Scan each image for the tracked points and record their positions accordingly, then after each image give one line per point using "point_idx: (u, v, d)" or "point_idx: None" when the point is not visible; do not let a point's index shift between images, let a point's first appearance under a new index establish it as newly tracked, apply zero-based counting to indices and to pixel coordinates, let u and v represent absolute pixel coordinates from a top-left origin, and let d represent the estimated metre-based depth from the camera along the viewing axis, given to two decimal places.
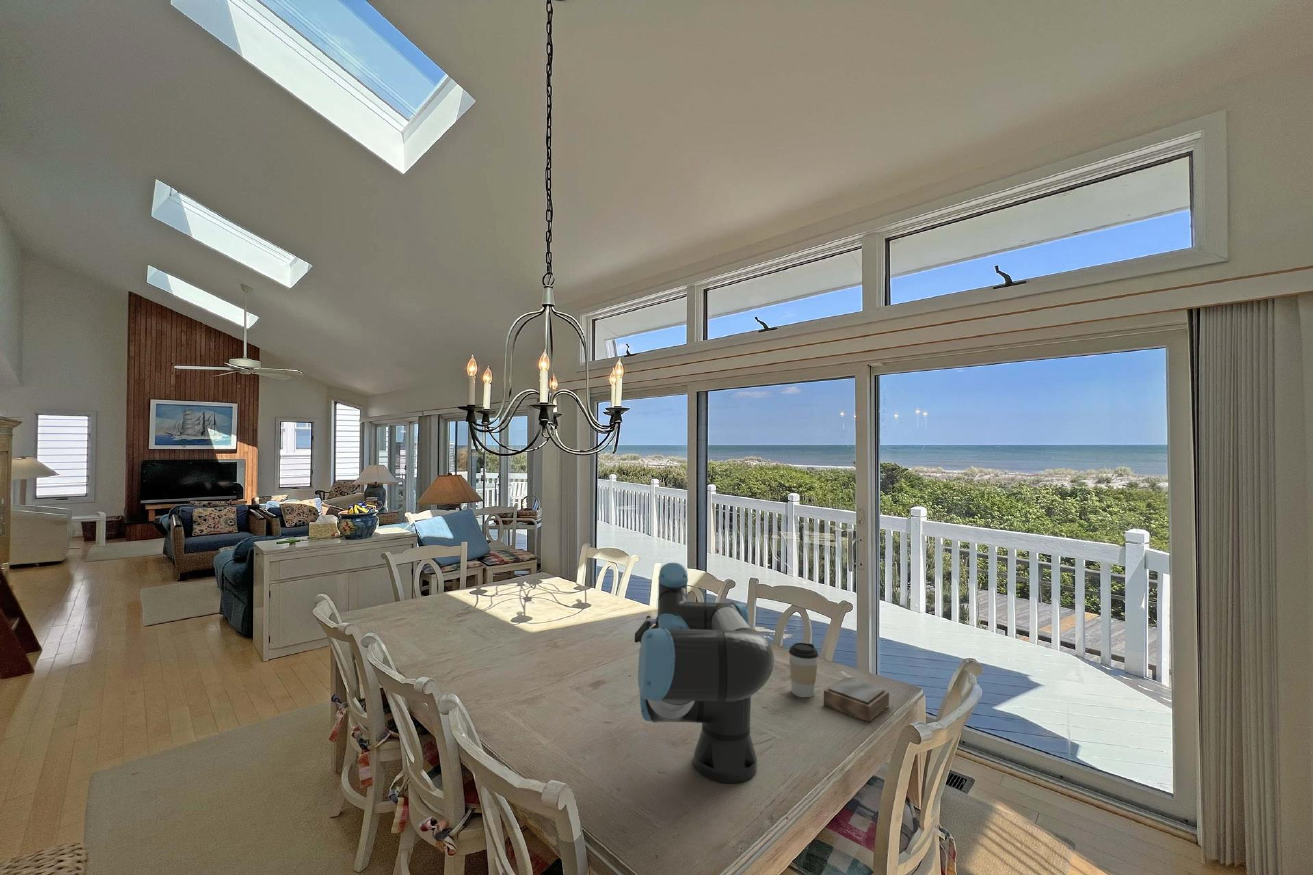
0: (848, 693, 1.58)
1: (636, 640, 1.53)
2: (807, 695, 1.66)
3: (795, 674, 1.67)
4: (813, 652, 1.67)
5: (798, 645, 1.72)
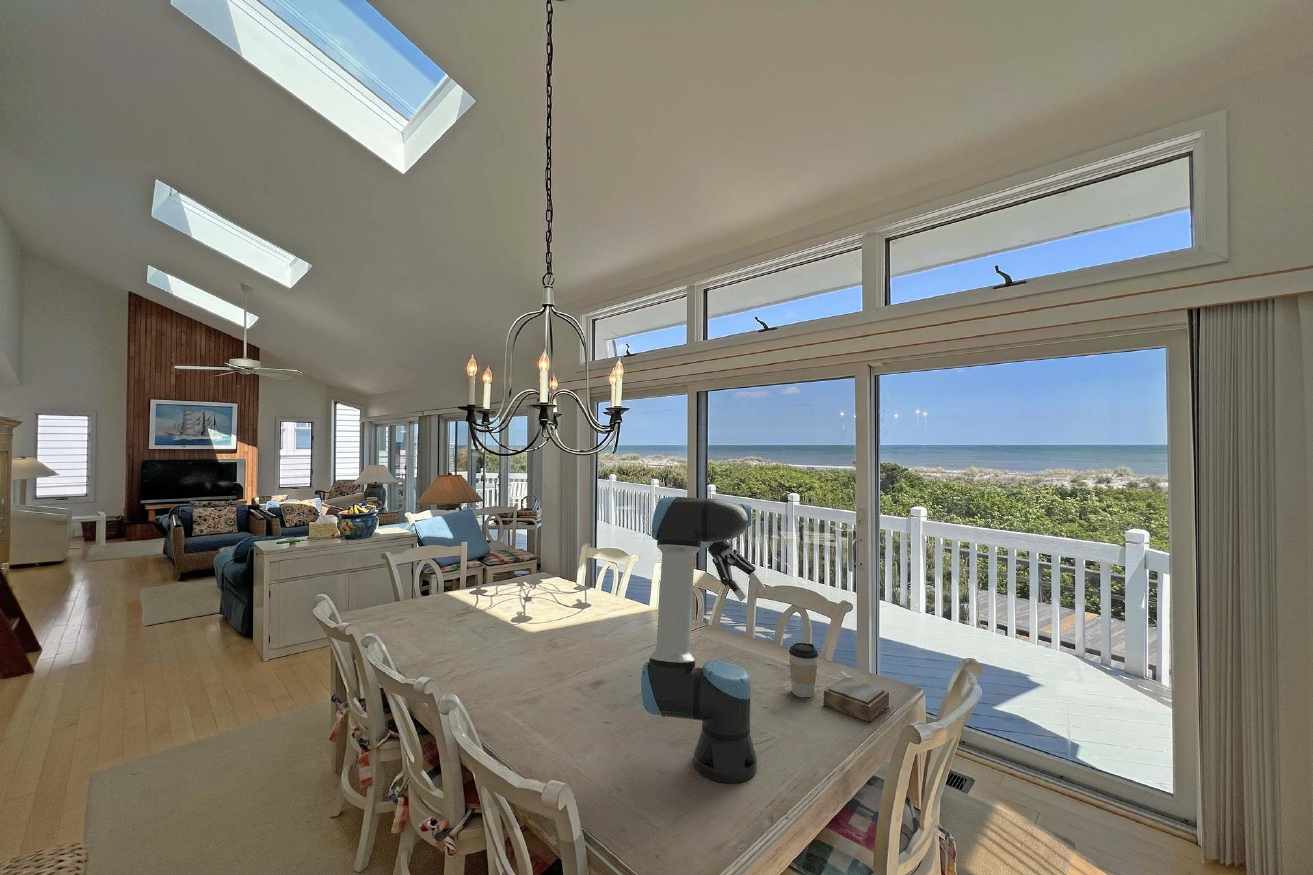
0: (848, 693, 1.58)
1: (726, 577, 1.73)
2: (807, 695, 1.66)
3: (795, 674, 1.67)
4: (813, 652, 1.67)
5: (798, 645, 1.72)
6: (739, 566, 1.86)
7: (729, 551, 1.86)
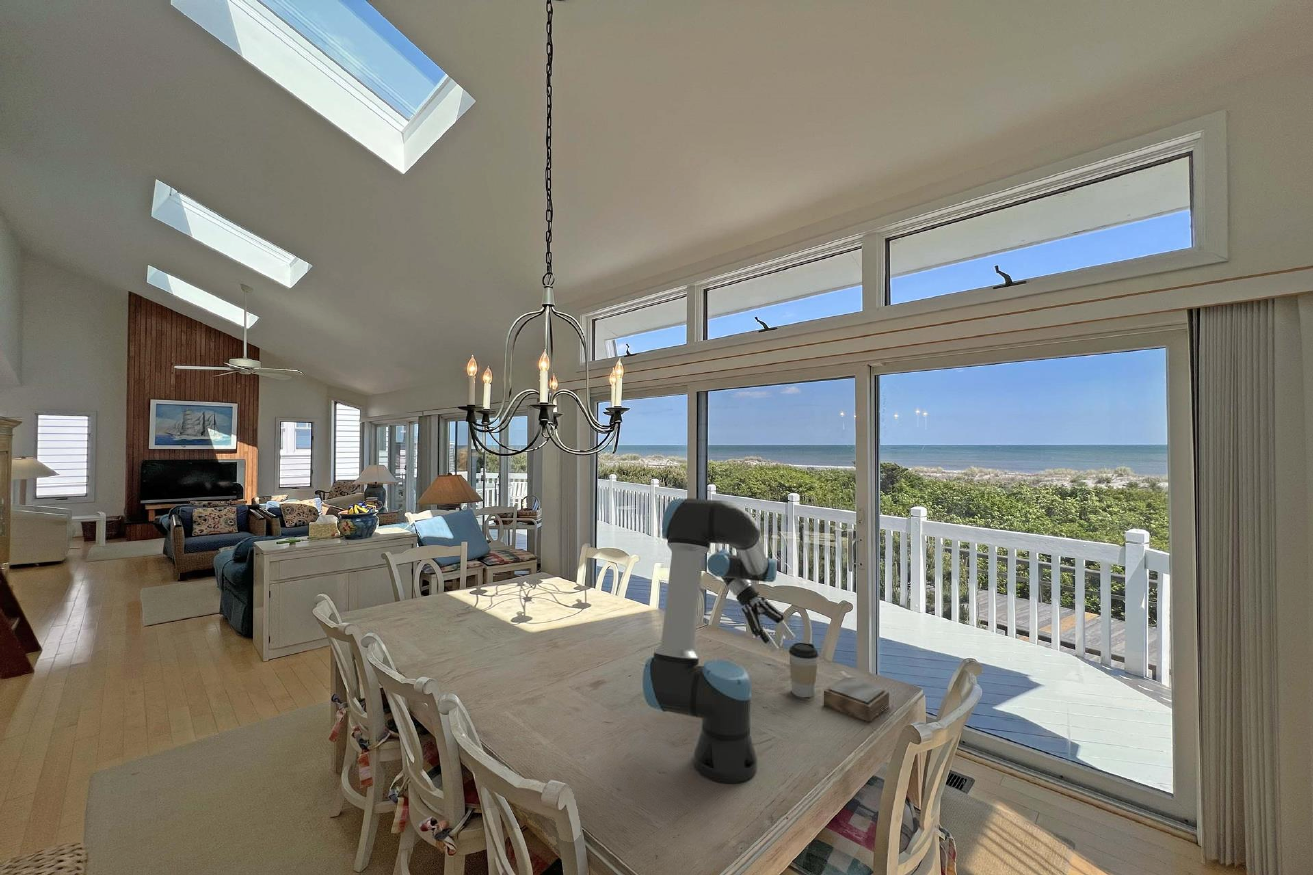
0: (848, 693, 1.58)
1: (757, 628, 1.70)
2: (807, 695, 1.66)
3: (795, 674, 1.67)
4: (813, 652, 1.67)
5: (798, 645, 1.72)
6: (768, 614, 1.83)
7: (758, 599, 1.83)
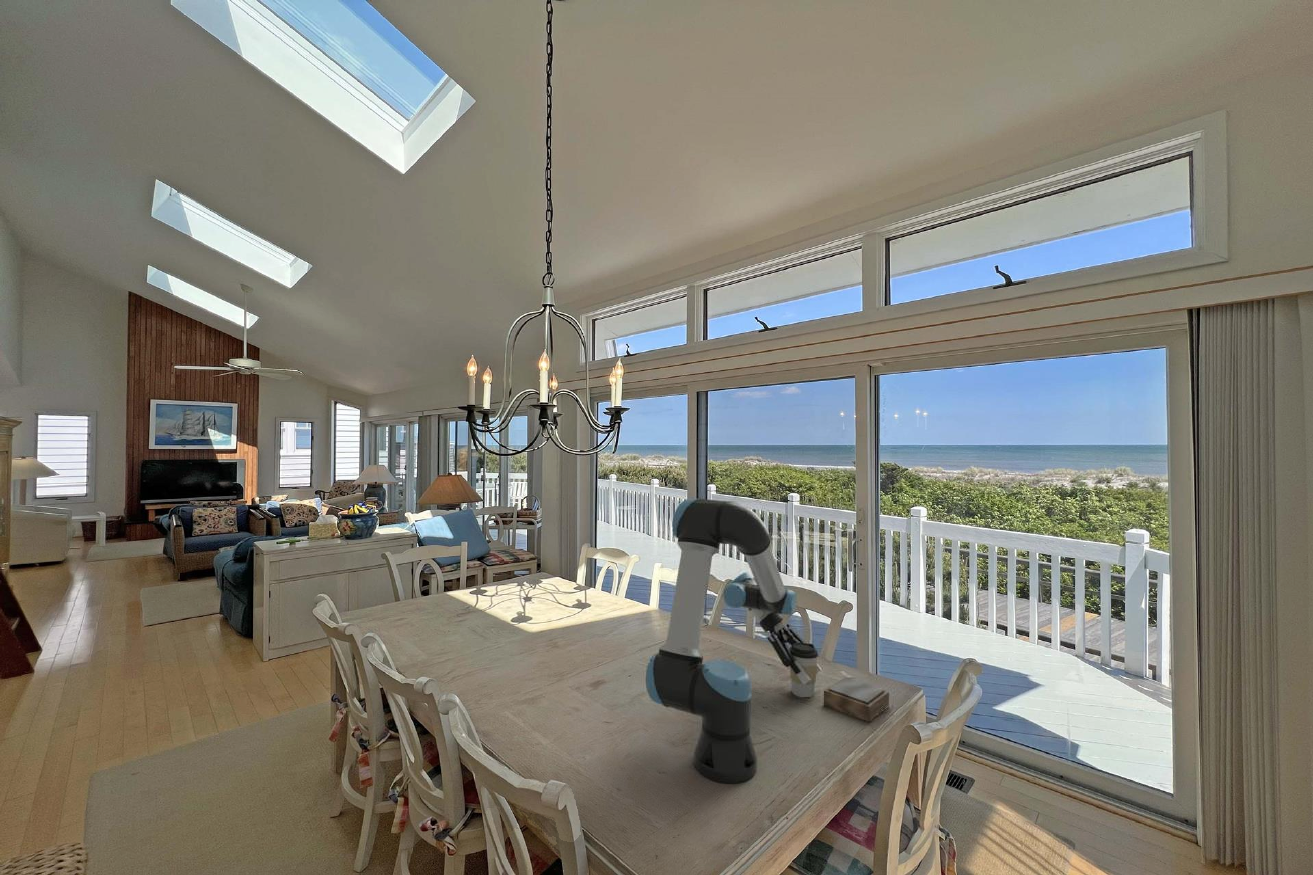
0: (848, 693, 1.58)
1: (788, 658, 1.65)
2: (807, 695, 1.66)
3: (795, 674, 1.67)
4: (813, 652, 1.67)
5: (798, 645, 1.72)
6: (792, 643, 1.75)
7: (781, 624, 1.77)
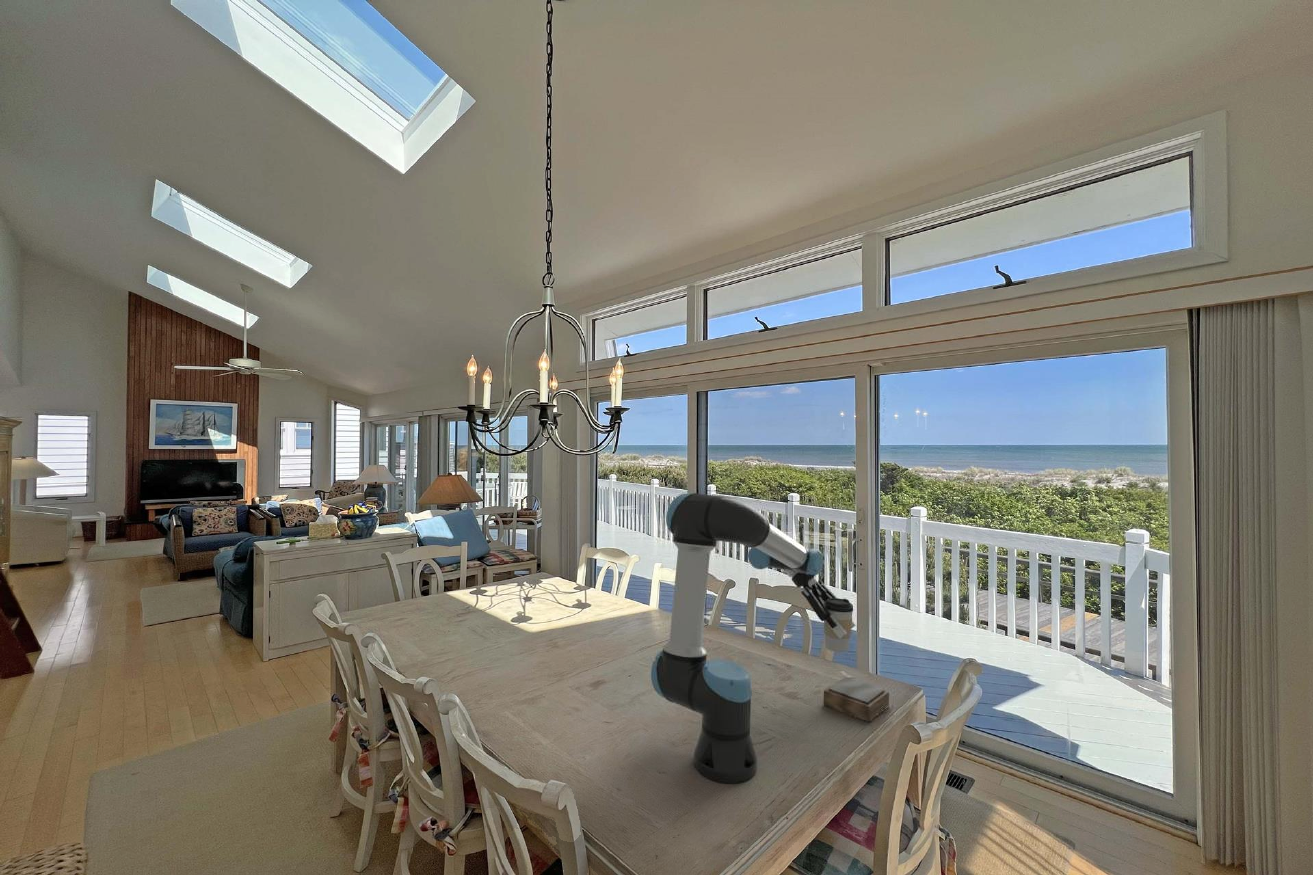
0: (848, 693, 1.58)
1: (824, 612, 1.61)
2: (842, 650, 1.62)
3: (830, 629, 1.63)
4: (849, 606, 1.63)
5: (832, 600, 1.68)
6: (825, 599, 1.71)
7: (814, 580, 1.73)
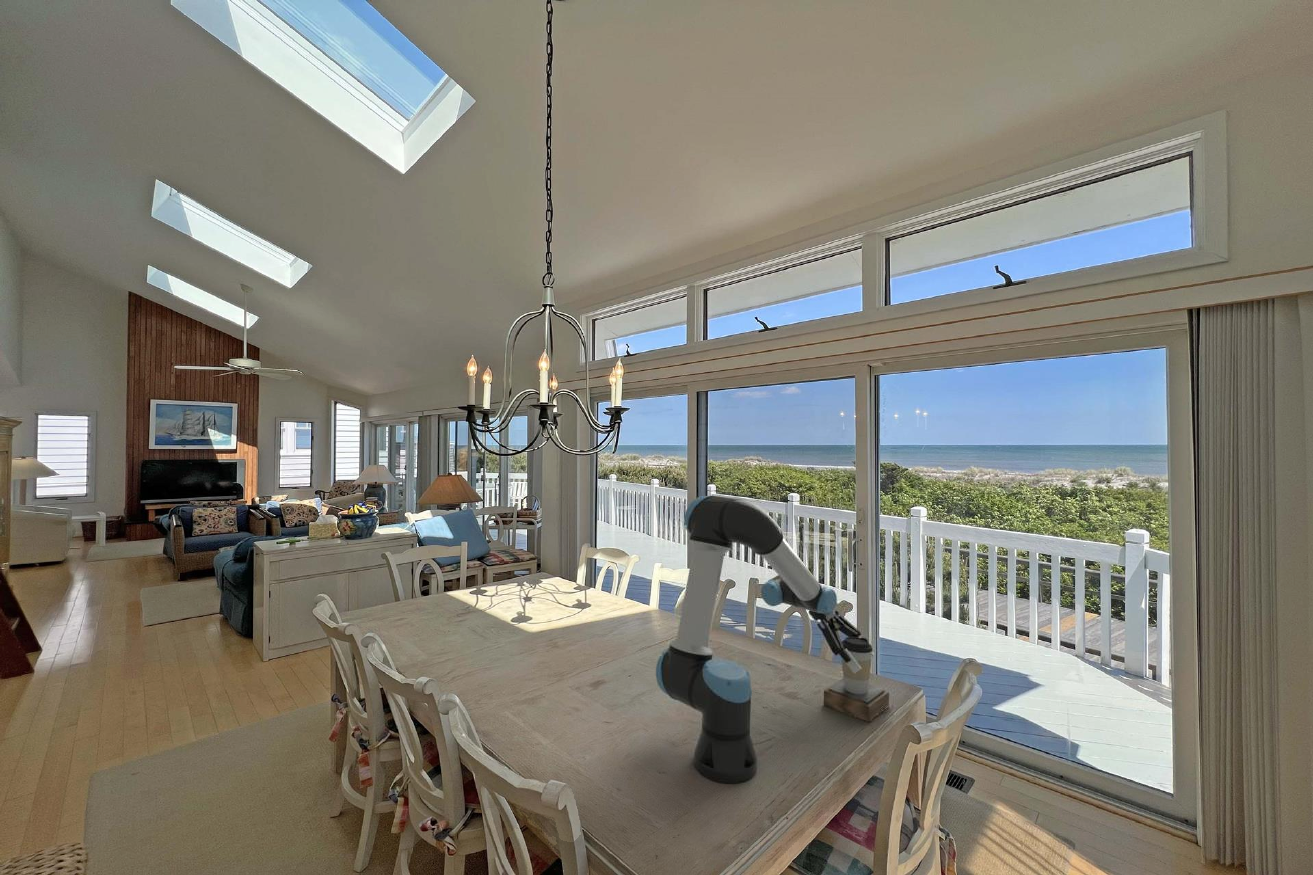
0: (848, 693, 1.58)
1: (838, 646, 1.56)
2: (861, 691, 1.58)
3: (848, 669, 1.59)
4: (867, 646, 1.59)
5: (850, 639, 1.64)
6: (843, 630, 1.69)
7: (832, 613, 1.69)
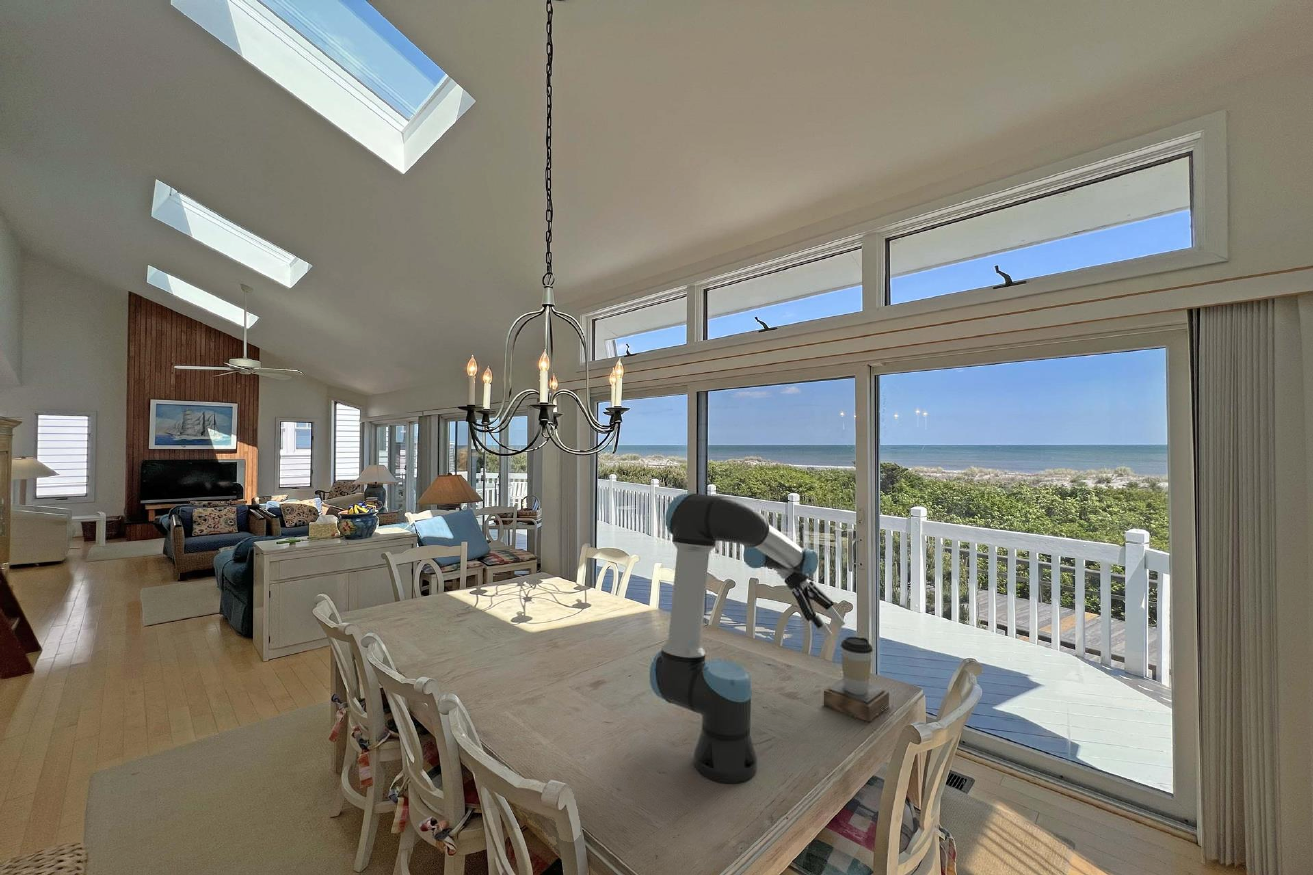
0: (848, 693, 1.58)
1: (810, 612, 1.61)
2: (861, 692, 1.58)
3: (849, 670, 1.59)
4: (868, 647, 1.59)
5: (850, 639, 1.63)
6: (817, 600, 1.74)
7: (807, 583, 1.74)
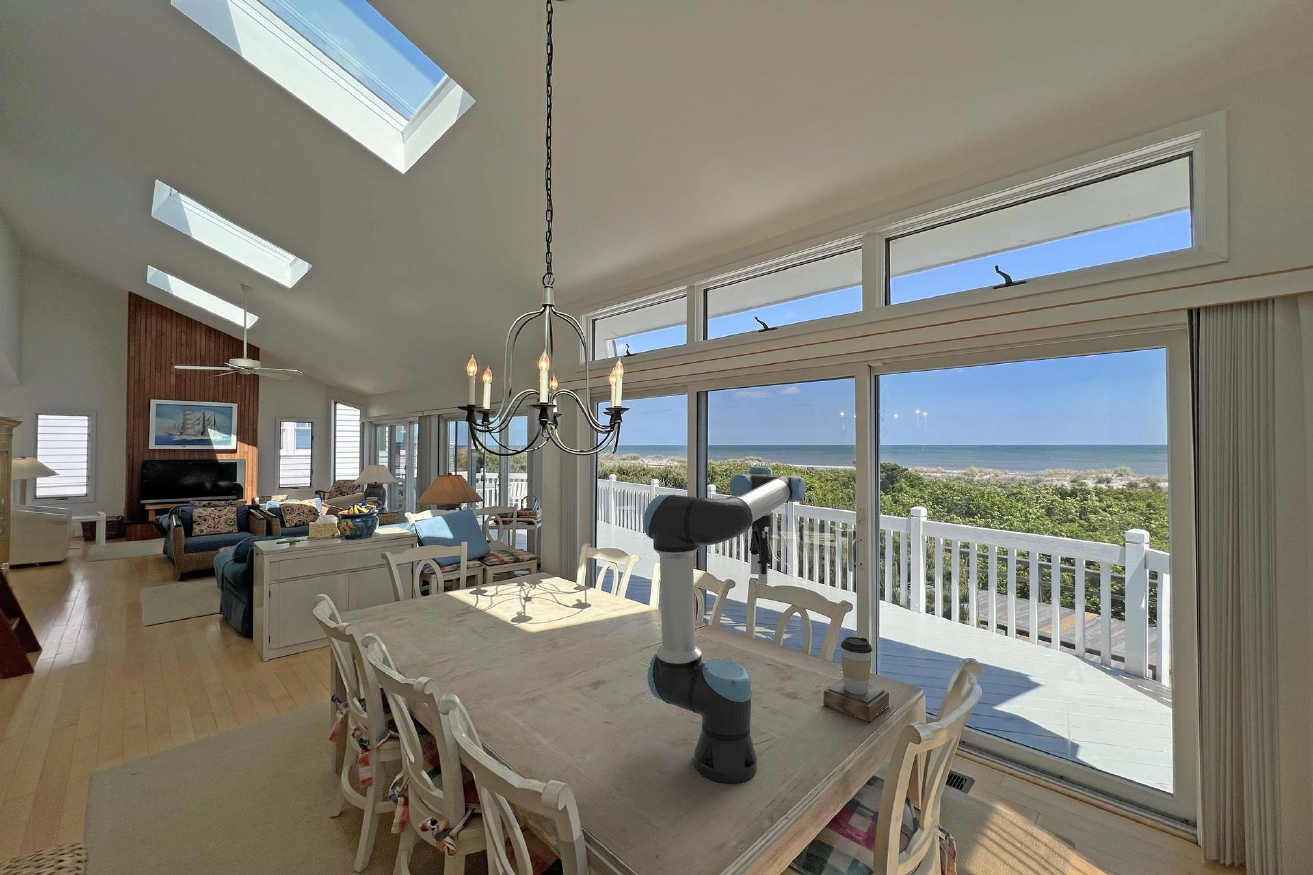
0: (848, 693, 1.58)
1: None
2: (861, 692, 1.58)
3: (848, 670, 1.59)
4: (867, 646, 1.59)
5: (850, 639, 1.64)
6: (755, 544, 1.79)
7: None
